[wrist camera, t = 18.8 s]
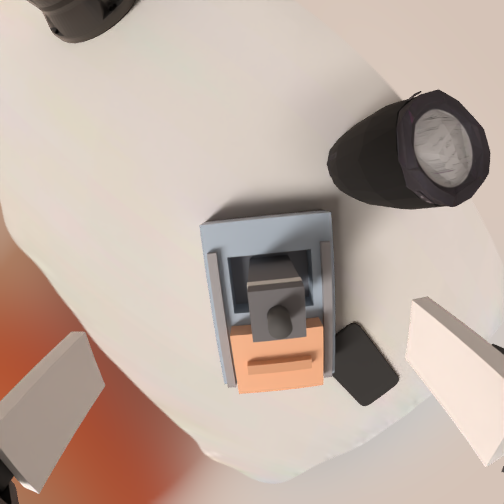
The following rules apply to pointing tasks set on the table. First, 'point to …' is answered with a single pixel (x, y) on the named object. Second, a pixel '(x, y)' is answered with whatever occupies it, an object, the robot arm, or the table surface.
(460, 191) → the portable speaker
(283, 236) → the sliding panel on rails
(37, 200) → the table surface
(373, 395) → the phone
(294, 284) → the grey bottle-shaped block
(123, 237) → the table surface
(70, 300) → the table surface
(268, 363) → the panel
